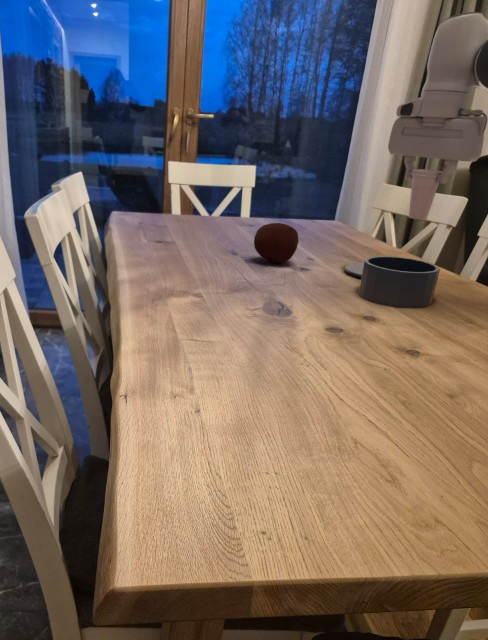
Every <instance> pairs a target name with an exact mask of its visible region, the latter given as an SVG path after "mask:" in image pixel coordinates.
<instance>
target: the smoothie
mask: <svg viewBox="0 0 488 640" xmlns="http://www.w3.org/2000/svg"><path fill="white" fill-rule="evenodd" d="M430 159H431V158H426V162H425V167H424V168H419V169H418V168H416V169H415V168H414V169H413V170H412V174H411V175H413V178H412V179H411V188H410V189H411V190H410V199H409V209H408V210H409V211H408V219H414V220H427V219H428V216H429V213H430V210H431V207H432V206H433V202H434V198H435V196H436V193H437V190H438V188H439V185H440V183H437V179H438V178H437V177H438V174H442V173H443V171H441V170H436V169H429V164H430V161H431V160H430Z"/></svg>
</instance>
